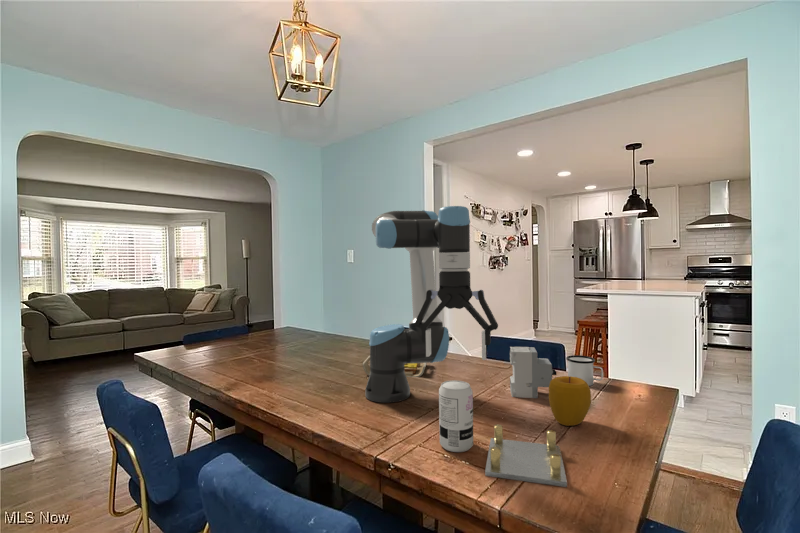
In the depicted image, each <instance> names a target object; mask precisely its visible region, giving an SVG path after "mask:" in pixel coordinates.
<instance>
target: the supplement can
mask: <svg viewBox="0 0 800 533" xmlns="http://www.w3.org/2000/svg"><path fill="white" fill-rule="evenodd" d="M473 394H474V393H473V389H472V387H471V385H470V383H469V382H466V381H463V380H454V379H453V380H445V381H443V382H442V383H440V387H439V388H438V412H439V413H438V414H439V415H438V422H439V424H438V426H439V428H438V430H439V444H440V446H441V447H442V448H443V449H445V450H446V451H449V452H452V453H453V452H454V453H463V452H467V451H469V450H470V449H471V448H472V447H473V446H474V398H473V396H474V395H473Z"/></svg>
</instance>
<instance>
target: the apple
mask: <svg viewBox="0 0 800 533" xmlns="http://www.w3.org/2000/svg"><path fill="white" fill-rule="evenodd" d="M548 401H549V402H548V403H549V406H550V410H551V413H552V416H553V417H554V419H555V421H556V422H557V423H558V424H560V425H562V426H570V427H573V426H578V425H579V424H582V422H583V421H584V420H585V418H586V416H587V415H588V413H589V409H590V407H591V404H592V403H591V402H592V394H591V389H590V386H588V384H587V383H586V382H585V381H584V380H583V379H581V378H577V377H571V376H568V375H564V376H558V377H557V376H556V377H554V378H552V380H551V381H550V384H549V387H548Z"/></svg>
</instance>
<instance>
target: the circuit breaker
mask: <svg viewBox="0 0 800 533" xmlns="http://www.w3.org/2000/svg"><path fill="white" fill-rule="evenodd" d="M509 348H510V349H509V363H510V365H511V366H512V375H511V376H509V391H510V395H511V398H513V397H515V398H524V399H525V398H526V399H538V398H539V394H538V393H539V392H538V390H539V388H549V384H550V381H551V380H552V379H553V376H557V371H556V369H554V368H553V365H552V363H551V361H550V359H549V358H544V357H543V358H540V357H539V358H538V352H537V350H536V348H535V347H532V346H531V347H529V346H509Z"/></svg>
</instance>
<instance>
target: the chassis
mask: <svg viewBox="0 0 800 533" xmlns="http://www.w3.org/2000/svg"><path fill="white" fill-rule="evenodd" d="M493 427H494V428H493V430H494V431H493V433H494V434H493V435H494V436H493V437H494V438H493V437H490V441H489V446H488V452H487V458H486V464H485V471H484V475H485V477H493V478H498V479H506V480H513V481H521V482H525V483H526V482H528V483H532V484H533V483H535V484H543V485H549V486H555V487H556V486H557V487H563V488H568V481H567V476H566V470H565V465H564V461H563V455H562V451H561V446H560V445H557V440H556V439H557V438H556V437H557V435H556V431H555V430H553V429H548V430H546V443H538V442H530V441H529V442H528V441H520V440H513V439H512V440H510V439H504V437H503V436H504V435H503V434H504V432H503V431H504V430H503V425H502V424H494V425H493Z"/></svg>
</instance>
